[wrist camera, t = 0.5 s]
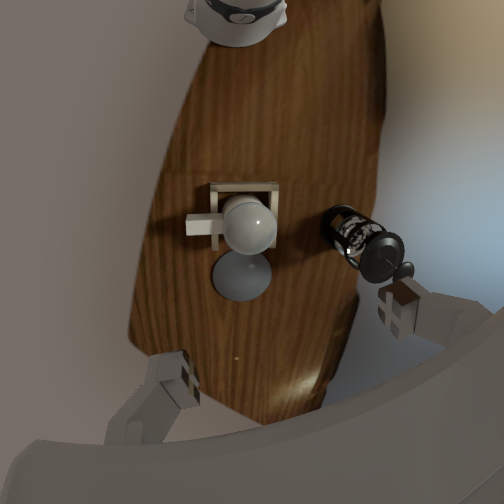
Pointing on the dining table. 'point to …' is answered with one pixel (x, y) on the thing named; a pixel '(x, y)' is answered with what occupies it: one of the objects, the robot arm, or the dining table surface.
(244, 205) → the white handled cylinder
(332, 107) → the dining table surface
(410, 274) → the french press
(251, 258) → the mat
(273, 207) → the stand
